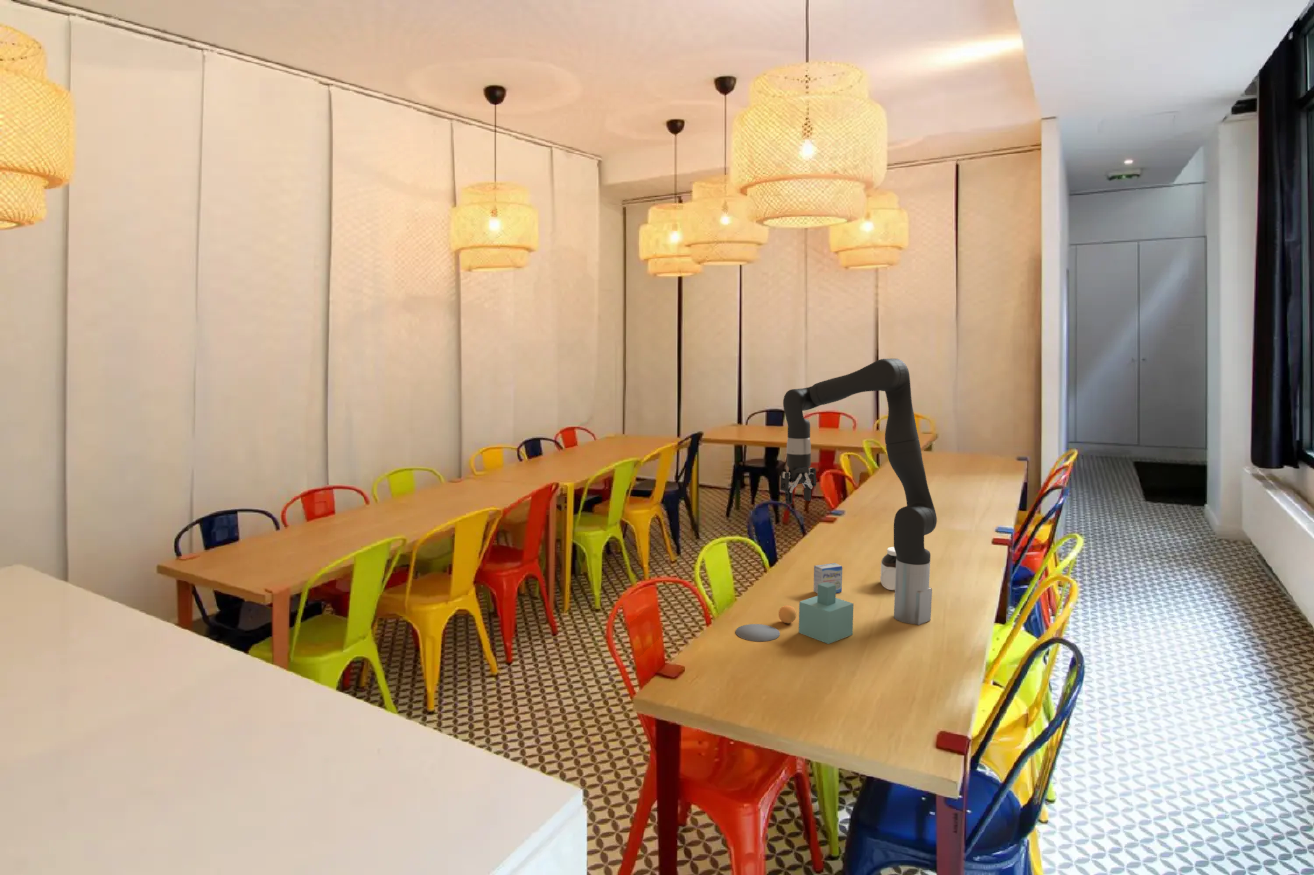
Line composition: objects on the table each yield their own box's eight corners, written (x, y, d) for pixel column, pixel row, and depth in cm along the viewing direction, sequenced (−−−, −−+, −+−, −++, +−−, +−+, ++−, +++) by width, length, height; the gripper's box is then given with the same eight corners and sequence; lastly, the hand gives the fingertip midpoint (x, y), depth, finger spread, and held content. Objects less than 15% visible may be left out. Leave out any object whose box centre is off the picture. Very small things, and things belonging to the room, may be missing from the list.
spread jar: (907, 580, 259) (909, 546, 258) (920, 591, 248) (922, 555, 247) (872, 580, 259) (873, 546, 257) (883, 591, 248) (884, 556, 246)
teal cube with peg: (852, 634, 213) (854, 585, 211) (828, 644, 206) (829, 593, 204) (822, 623, 220) (824, 576, 219) (798, 632, 214) (799, 583, 212)
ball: (799, 623, 221) (800, 606, 220) (788, 627, 218) (788, 610, 217) (786, 618, 225) (786, 601, 224) (774, 622, 222) (775, 605, 221)
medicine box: (820, 595, 244) (821, 569, 243) (812, 591, 248) (813, 565, 247) (842, 592, 247) (842, 566, 246) (833, 588, 251) (834, 562, 250)
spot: (789, 634, 213) (789, 633, 213) (758, 645, 206) (758, 644, 206) (757, 621, 222) (757, 620, 222) (726, 631, 215) (726, 630, 215)
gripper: (792, 455, 240) (791, 507, 242) (822, 450, 249) (822, 500, 251) (774, 452, 246) (774, 503, 248) (804, 448, 255) (804, 497, 257)
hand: (798, 502), depth 249 cm, fingers open, 8 cm apart
